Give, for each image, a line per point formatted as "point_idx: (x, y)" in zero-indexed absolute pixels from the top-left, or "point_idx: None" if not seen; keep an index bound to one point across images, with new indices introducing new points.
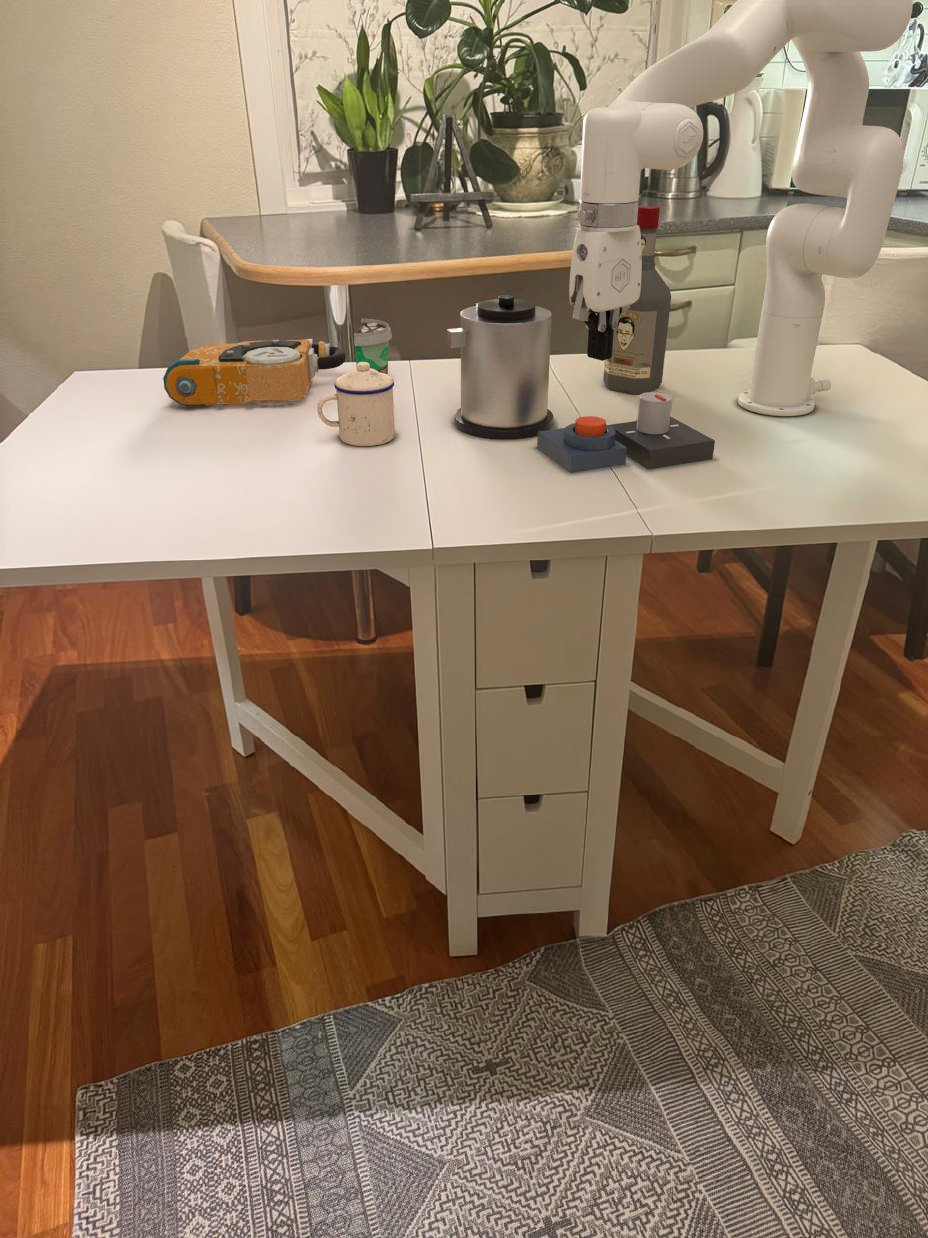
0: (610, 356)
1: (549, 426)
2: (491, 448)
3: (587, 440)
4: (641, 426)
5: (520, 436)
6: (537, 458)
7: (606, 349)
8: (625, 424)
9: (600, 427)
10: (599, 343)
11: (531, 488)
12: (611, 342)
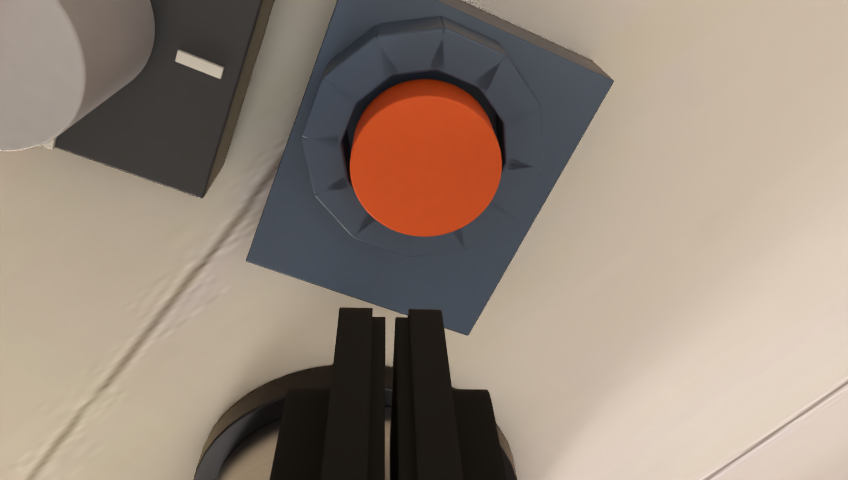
0: (359, 312)
1: (293, 382)
2: (560, 384)
3: (527, 85)
4: (146, 33)
5: None
6: (537, 240)
7: (430, 361)
8: (135, 149)
9: (442, 93)
10: (473, 448)
11: (804, 71)
12: (353, 402)
